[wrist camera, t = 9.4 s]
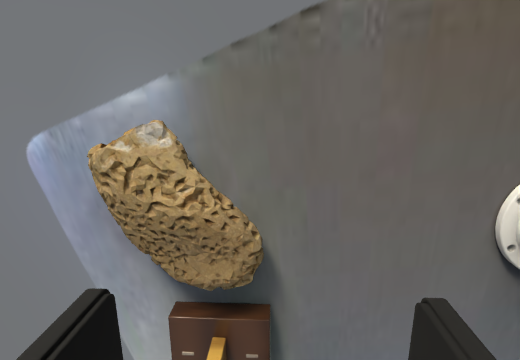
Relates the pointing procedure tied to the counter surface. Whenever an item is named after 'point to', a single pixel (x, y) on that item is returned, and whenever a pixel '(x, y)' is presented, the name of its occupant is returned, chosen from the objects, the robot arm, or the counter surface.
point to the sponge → (174, 210)
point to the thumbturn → (217, 349)
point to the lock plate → (220, 330)
